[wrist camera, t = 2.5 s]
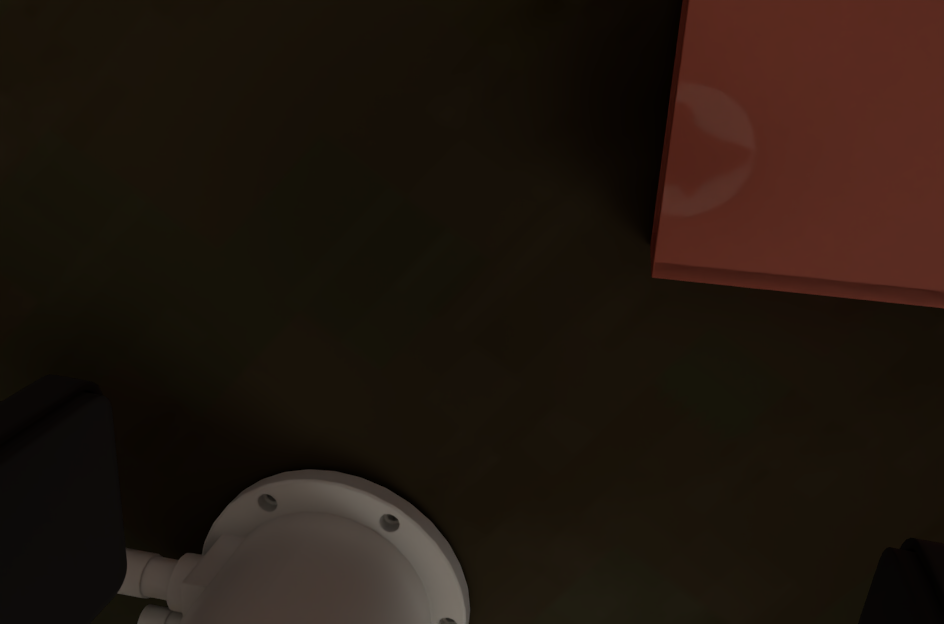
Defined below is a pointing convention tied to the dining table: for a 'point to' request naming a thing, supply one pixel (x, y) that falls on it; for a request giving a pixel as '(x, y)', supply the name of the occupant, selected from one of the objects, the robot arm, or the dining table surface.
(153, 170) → the dining table surface
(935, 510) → the dining table surface
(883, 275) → the book
